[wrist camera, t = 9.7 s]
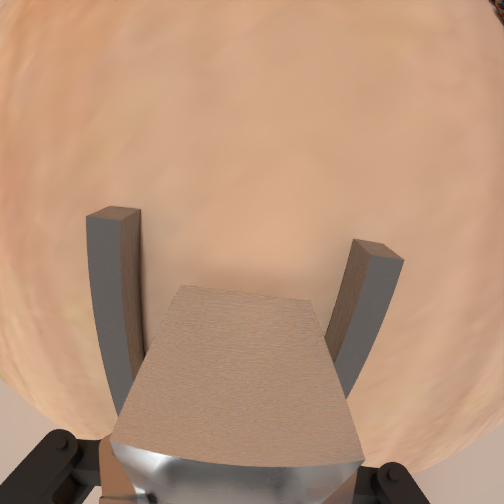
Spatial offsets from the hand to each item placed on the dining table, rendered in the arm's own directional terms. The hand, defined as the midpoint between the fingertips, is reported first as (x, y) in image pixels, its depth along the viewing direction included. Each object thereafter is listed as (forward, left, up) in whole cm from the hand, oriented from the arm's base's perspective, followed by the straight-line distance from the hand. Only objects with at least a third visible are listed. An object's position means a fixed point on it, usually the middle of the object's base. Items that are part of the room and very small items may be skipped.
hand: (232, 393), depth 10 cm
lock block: (0, 0, -1) cm, 1 cm away
